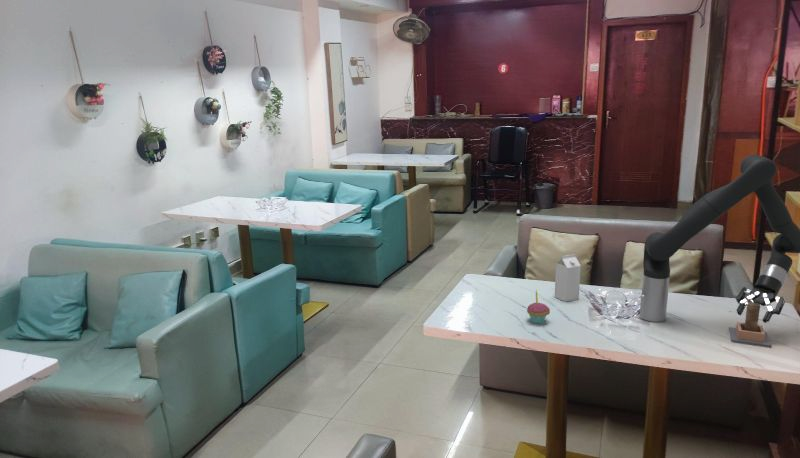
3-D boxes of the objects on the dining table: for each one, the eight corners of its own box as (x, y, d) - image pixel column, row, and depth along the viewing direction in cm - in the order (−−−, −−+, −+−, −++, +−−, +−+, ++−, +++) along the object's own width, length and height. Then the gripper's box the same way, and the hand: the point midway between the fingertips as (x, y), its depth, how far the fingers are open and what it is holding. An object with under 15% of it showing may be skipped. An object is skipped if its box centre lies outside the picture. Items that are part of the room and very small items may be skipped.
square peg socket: (731, 341, 210) (732, 331, 209) (728, 329, 220) (730, 319, 219) (771, 347, 205) (772, 337, 204) (766, 334, 215) (768, 324, 215)
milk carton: (554, 297, 255) (556, 254, 250) (567, 294, 258) (569, 251, 253) (565, 302, 249) (567, 258, 244) (578, 299, 252) (581, 256, 247)
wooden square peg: (744, 336, 212) (748, 305, 209) (743, 333, 215) (747, 301, 212) (755, 338, 210) (760, 306, 207) (754, 334, 213) (759, 303, 210)
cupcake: (522, 318, 233) (523, 289, 230) (540, 315, 236) (542, 286, 233) (534, 327, 225) (535, 296, 222) (553, 323, 228) (555, 293, 225)
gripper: (747, 269, 217) (727, 306, 214) (790, 279, 206) (770, 318, 203) (752, 280, 222) (733, 316, 218) (795, 291, 210) (775, 329, 207)
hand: (751, 317), depth 210 cm, fingers open, 8 cm apart
